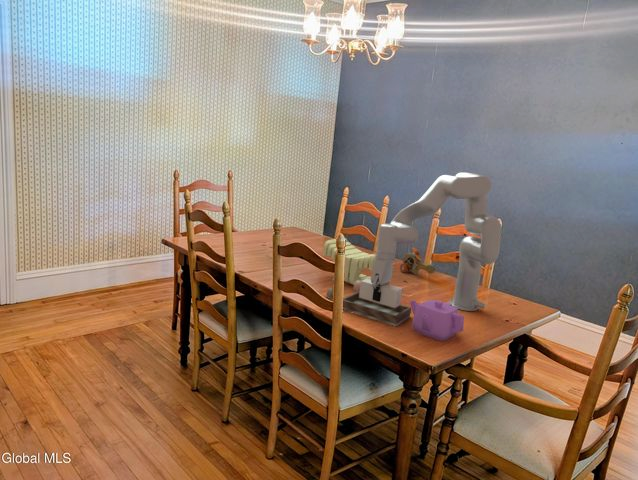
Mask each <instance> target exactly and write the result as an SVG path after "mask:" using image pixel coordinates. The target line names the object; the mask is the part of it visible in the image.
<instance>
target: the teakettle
mask: <svg viewBox="0 0 638 480" xmlns="http://www.w3.org/2000/svg"><path fill="white" fill-rule="evenodd" d="M409 303H410V305H411V306H410V307H411V311H412V313H413V319H412V324H411V325H412V330H413V331H414V332H416V333H418V334H421V335H422V334H423V335H422V336H425V337H427V336H428V338H431V339H434V340H436V341H439V340H440V342H445V341H447V340H449V339H452V338H453V337H454V336H455V335H456V334H457V333H459V332H463V331H464V326H465V325H464V323H465V316H464V315H462V314H460V313H459V309H457V308H455V307H453V306H452V304H450V303H449V302H444V301H442V300H439V299H437V300H434V299H429V300H426V301H423V302H421V303H419V304H418V303H417V300H409Z"/></svg>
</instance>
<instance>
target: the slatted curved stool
mask: <svg viewBox="0 0 638 480" xmlns="http://www.w3.org/2000/svg"><path fill="white" fill-rule="evenodd" d="M344 238H345V240H346V247H345V283H347V284H351V285H352V286H354V283H355V282H356V281H357V280H359V281H362V280H364V279H370V280H371V276H368V275H366V274H363V273H361V272H362V271H363V269H364V268H365V269H368V270H369V271H370V272H372V271H373V266H374V262H375V259H376V258H375V257H376V254H373V253H371V254H370V253H367V252H364V251H363V250H360V249H359V248H356V246H354V245H352V243H351V242H350V241H348V240H347V238H346V237H344ZM336 239H337V238H333V239H328V240H326V241H325V243H324V244H323V248H322V256H326V257H330V258H331V259H332V260H333V261H335V260H334V259H335V254H336V250H337V248H336Z"/></svg>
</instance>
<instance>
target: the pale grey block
mask: <svg viewBox="0 0 638 480" xmlns="http://www.w3.org/2000/svg"><path fill="white" fill-rule="evenodd" d="M377 283H378V284H379V283H380V282H377ZM372 284H373V283H371V280H370V279H364V280H362V281H359V280H357V281H356V282H355V283H354V285H353V292H354V293H359V298H362V299H366V300H369V301H373V302H376V303H380V304H383V305H386V306H390V307H393V308H396V307H398V306H399V305H400V304H401V302H402V301H401V300H402V297H403V296H402V295H403V289H404V288H402V287H399V286H395V285H391V284H390V283H389V284H383V285H382V287H381V291H380V292H381V298H380V302H378V301H375V300H373V299H372V298H373V286H372ZM377 286H378V287H379V285H377Z"/></svg>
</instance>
